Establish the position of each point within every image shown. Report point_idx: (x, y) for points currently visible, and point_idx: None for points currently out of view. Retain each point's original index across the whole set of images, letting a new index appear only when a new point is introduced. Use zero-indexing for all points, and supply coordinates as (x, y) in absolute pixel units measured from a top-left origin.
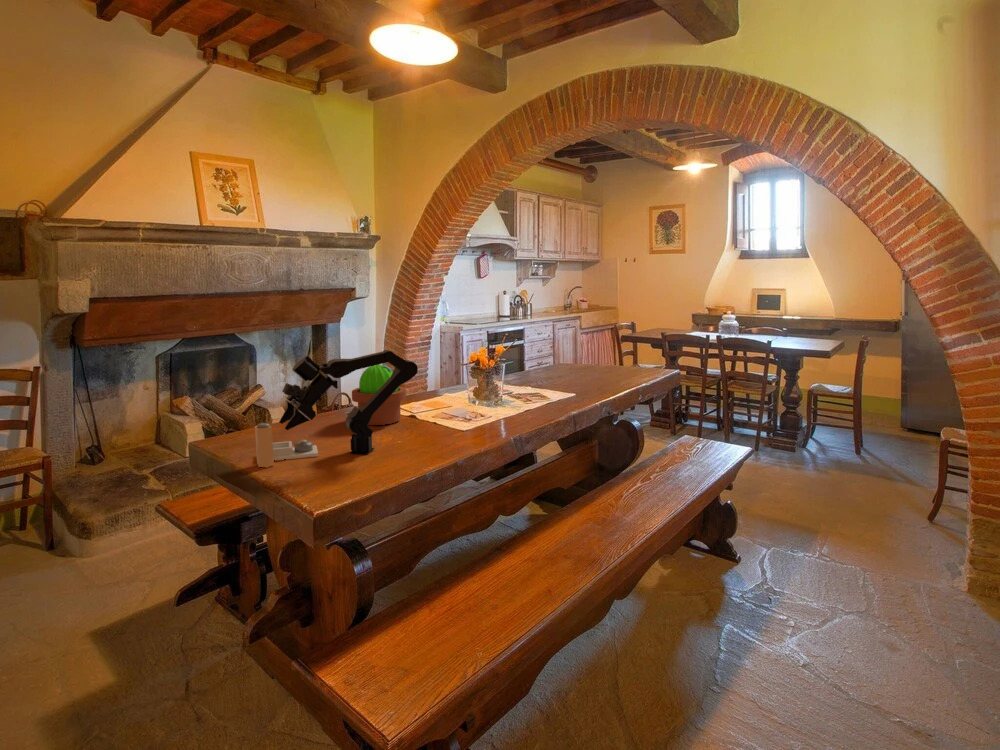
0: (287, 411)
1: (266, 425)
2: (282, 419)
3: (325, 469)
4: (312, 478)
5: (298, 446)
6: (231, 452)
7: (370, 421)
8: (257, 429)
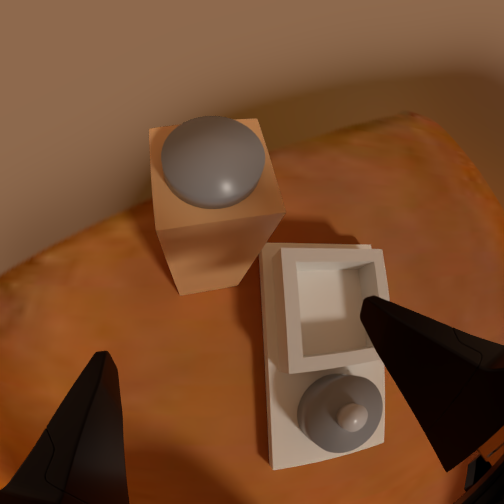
0: (451, 367)
1: (168, 178)
2: (382, 321)
3: None
4: (13, 410)
5: (313, 399)
6: (379, 163)
7: None
8: (150, 133)
